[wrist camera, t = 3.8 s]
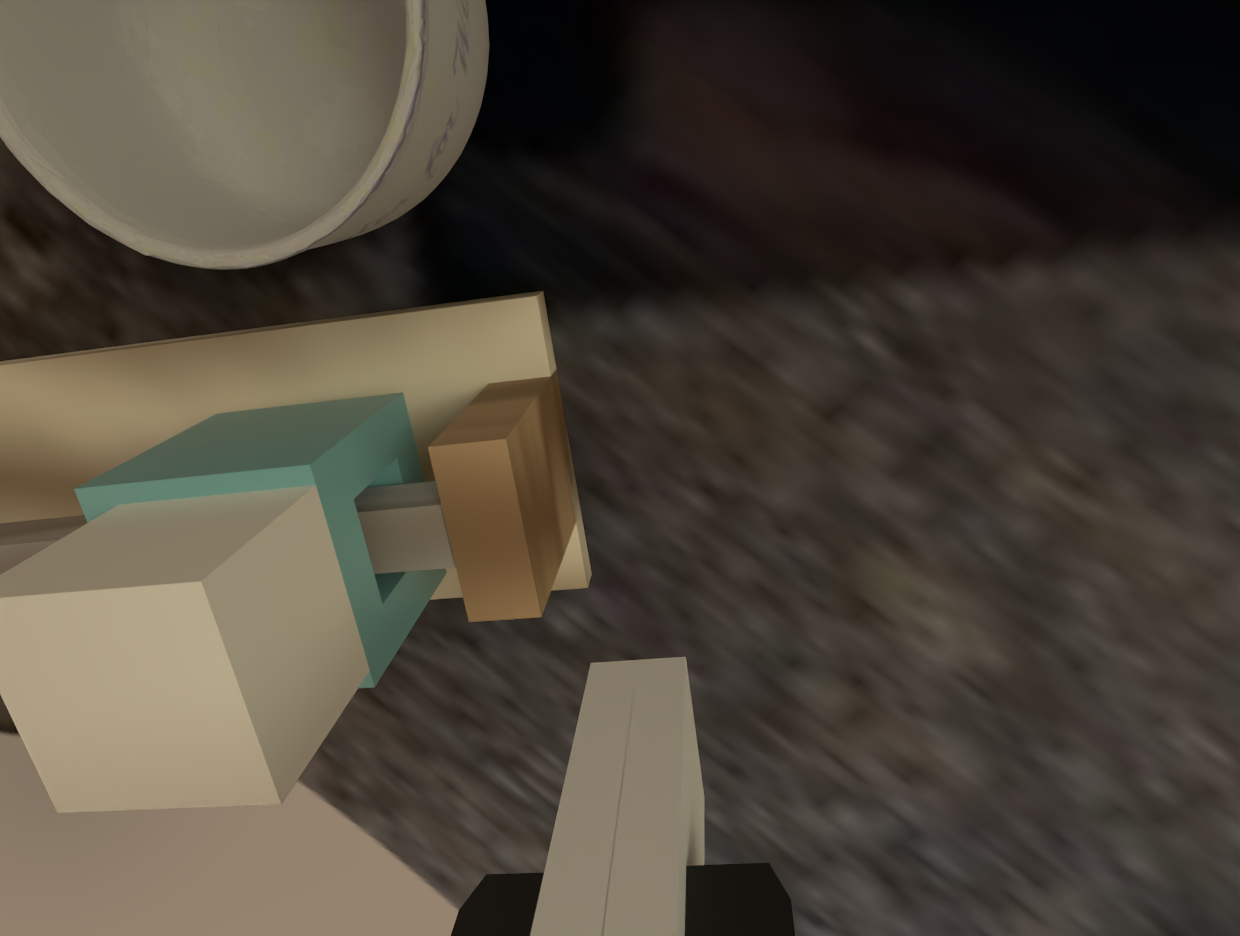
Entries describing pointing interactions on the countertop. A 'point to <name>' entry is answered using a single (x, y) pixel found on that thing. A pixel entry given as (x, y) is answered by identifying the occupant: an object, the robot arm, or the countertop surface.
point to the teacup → (240, 116)
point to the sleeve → (210, 610)
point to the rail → (323, 371)
